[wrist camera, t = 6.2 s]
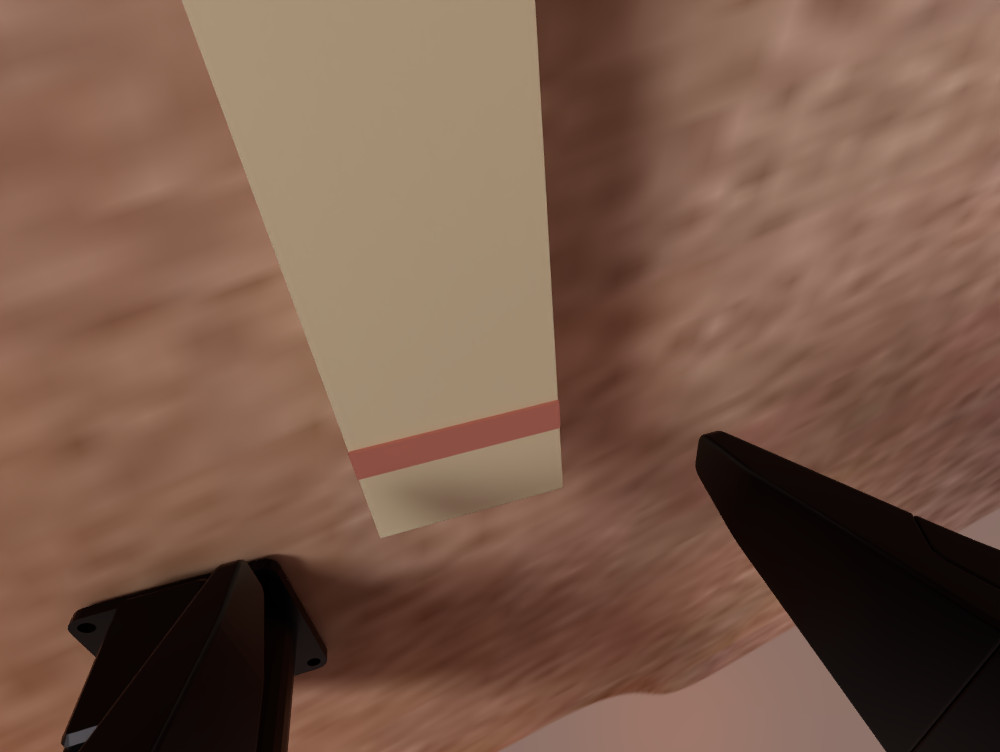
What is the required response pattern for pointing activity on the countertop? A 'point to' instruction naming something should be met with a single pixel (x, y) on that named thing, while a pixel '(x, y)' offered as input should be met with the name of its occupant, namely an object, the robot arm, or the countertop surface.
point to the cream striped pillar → (406, 231)
